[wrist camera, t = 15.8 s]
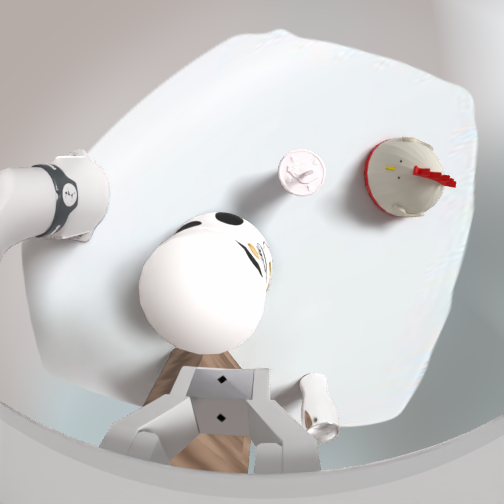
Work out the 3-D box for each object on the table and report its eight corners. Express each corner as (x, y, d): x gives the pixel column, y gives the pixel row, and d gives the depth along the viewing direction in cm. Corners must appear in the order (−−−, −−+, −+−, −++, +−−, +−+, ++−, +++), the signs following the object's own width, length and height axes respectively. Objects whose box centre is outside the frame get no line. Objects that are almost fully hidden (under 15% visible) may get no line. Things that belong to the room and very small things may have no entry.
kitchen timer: (369, 130, 42) (408, 111, 27) (432, 151, 42) (482, 145, 27) (358, 206, 45) (394, 217, 31) (422, 222, 45) (469, 238, 30)
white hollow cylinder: (325, 366, 53) (339, 417, 38) (331, 389, 54) (343, 438, 40) (293, 375, 54) (298, 427, 39) (300, 397, 55) (306, 448, 41)
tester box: (217, 399, 57) (197, 485, 33) (173, 349, 54) (129, 432, 31) (255, 385, 55) (247, 477, 32) (212, 330, 52) (178, 420, 29)
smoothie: (309, 198, 45) (326, 203, 32) (272, 189, 45) (273, 190, 32) (318, 161, 44) (338, 152, 30) (280, 151, 44) (285, 138, 30)
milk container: (289, 277, 49) (300, 328, 31) (207, 319, 52) (182, 377, 34) (239, 190, 46) (222, 194, 28) (157, 241, 49) (106, 270, 31)
